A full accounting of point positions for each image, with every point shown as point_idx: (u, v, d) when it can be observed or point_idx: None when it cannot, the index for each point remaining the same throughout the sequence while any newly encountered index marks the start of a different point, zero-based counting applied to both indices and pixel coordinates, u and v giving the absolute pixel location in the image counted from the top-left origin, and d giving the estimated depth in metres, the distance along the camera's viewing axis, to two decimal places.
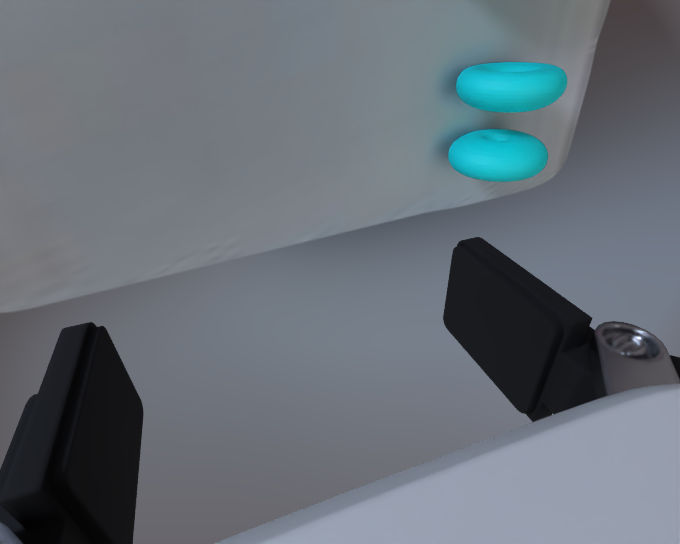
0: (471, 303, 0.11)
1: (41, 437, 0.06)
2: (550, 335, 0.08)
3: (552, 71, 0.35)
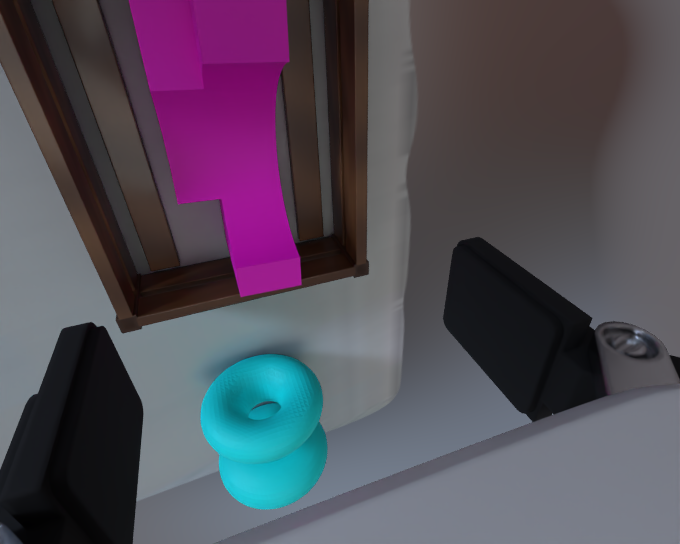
0: (471, 303, 0.11)
1: (41, 437, 0.06)
2: (550, 335, 0.08)
3: (285, 427, 0.29)
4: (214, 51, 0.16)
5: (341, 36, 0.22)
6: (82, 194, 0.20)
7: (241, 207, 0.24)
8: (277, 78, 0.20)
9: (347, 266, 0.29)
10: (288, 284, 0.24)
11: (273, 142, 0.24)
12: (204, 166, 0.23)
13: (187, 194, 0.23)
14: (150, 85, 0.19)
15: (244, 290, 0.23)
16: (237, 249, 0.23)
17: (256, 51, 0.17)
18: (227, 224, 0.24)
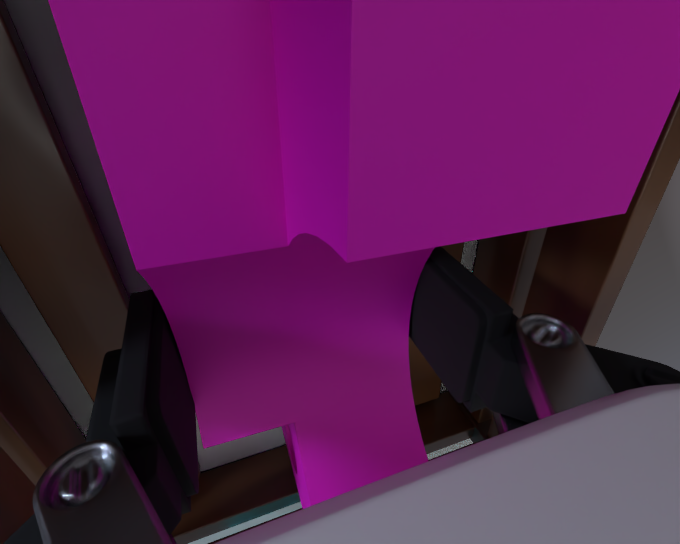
0: (415, 297, 0.11)
1: (133, 377, 0.07)
2: (475, 326, 0.08)
3: None
4: (400, 213, 0.04)
5: None
6: None
7: (334, 433, 0.12)
8: None
9: None
10: None
11: (407, 303, 0.11)
12: (263, 365, 0.10)
13: (225, 425, 0.11)
14: (137, 255, 0.06)
15: None
16: None
17: (544, 194, 0.04)
18: (307, 478, 0.11)
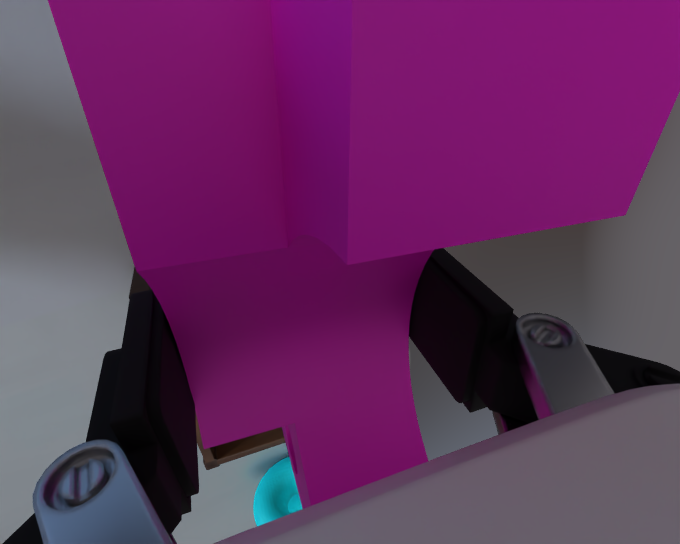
0: (415, 297, 0.11)
1: (133, 377, 0.07)
2: (475, 326, 0.08)
3: None
4: (400, 215, 0.04)
5: None
6: None
7: (334, 434, 0.12)
8: None
9: None
10: None
11: (407, 304, 0.11)
12: (263, 366, 0.10)
13: (225, 426, 0.11)
14: (137, 257, 0.06)
15: None
16: None
17: (544, 196, 0.04)
18: (307, 479, 0.11)
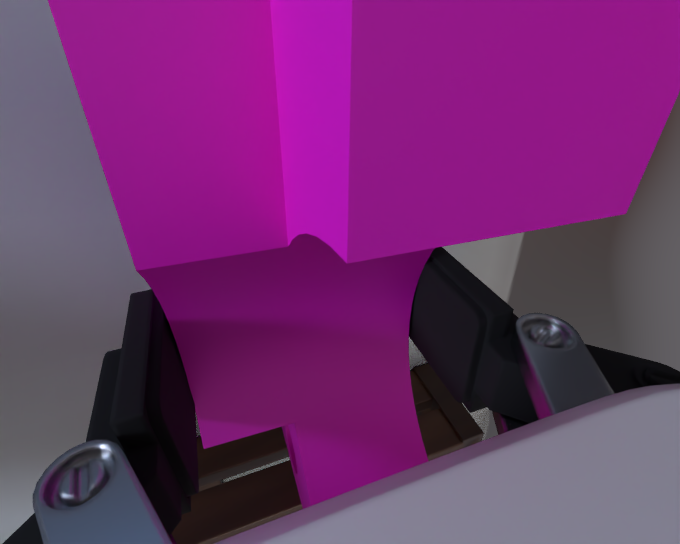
0: (415, 297, 0.11)
1: (133, 377, 0.07)
2: (475, 326, 0.08)
3: None
4: (400, 214, 0.04)
5: None
6: None
7: (334, 433, 0.12)
8: None
9: None
10: None
11: (407, 304, 0.11)
12: (263, 365, 0.10)
13: (225, 426, 0.11)
14: (137, 256, 0.06)
15: None
16: None
17: (544, 195, 0.04)
18: (307, 479, 0.11)
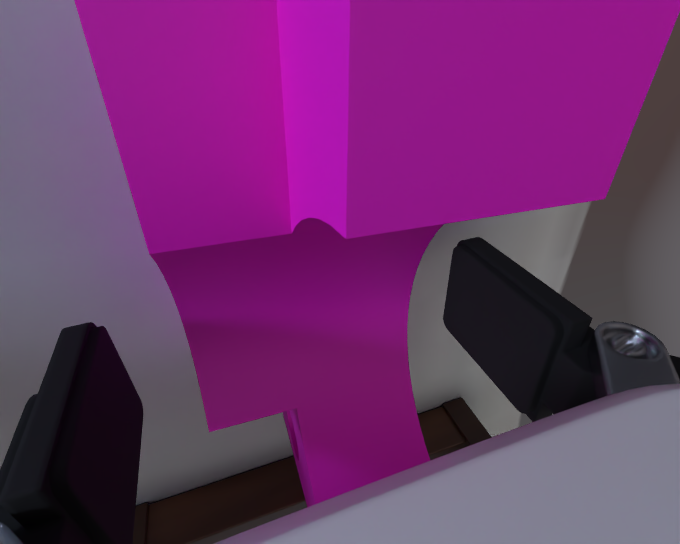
0: (471, 303, 0.11)
1: (41, 437, 0.06)
2: (550, 335, 0.08)
3: None
4: (394, 194, 0.04)
5: None
6: None
7: (335, 419, 0.12)
8: None
9: None
10: None
11: (406, 294, 0.12)
12: (267, 352, 0.11)
13: (230, 410, 0.11)
14: (150, 240, 0.07)
15: None
16: None
17: (527, 179, 0.05)
18: (309, 462, 0.12)
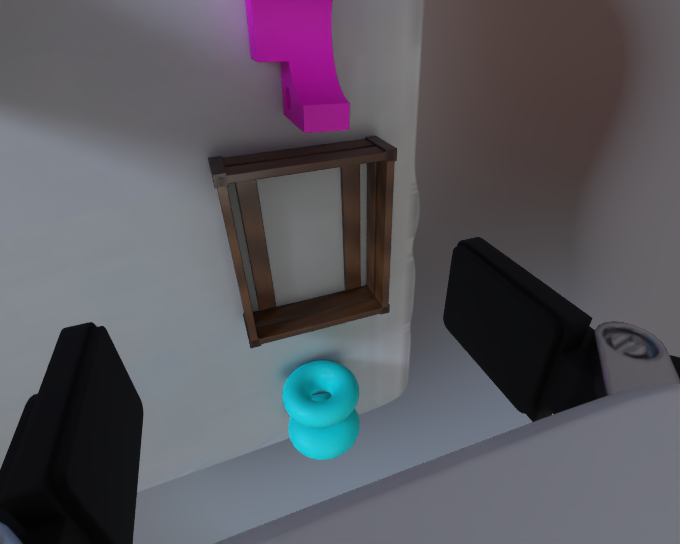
0: (471, 303, 0.11)
1: (41, 437, 0.06)
2: (550, 335, 0.08)
3: (338, 405, 0.48)
4: None
5: (378, 190, 0.41)
6: None
7: (303, 69, 0.32)
8: None
9: (376, 307, 0.47)
10: (339, 127, 0.31)
11: (329, 18, 0.31)
12: (278, 33, 0.31)
13: (265, 55, 0.31)
14: None
15: (307, 127, 0.31)
16: (302, 96, 0.31)
17: None
18: (293, 80, 0.31)
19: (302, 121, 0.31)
